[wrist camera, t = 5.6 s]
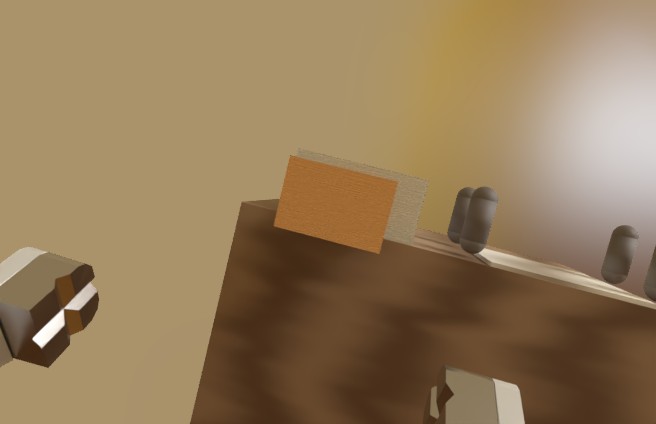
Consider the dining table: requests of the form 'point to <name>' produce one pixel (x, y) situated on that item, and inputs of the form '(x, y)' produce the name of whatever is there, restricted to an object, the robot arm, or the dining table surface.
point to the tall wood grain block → (422, 327)
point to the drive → (349, 202)
